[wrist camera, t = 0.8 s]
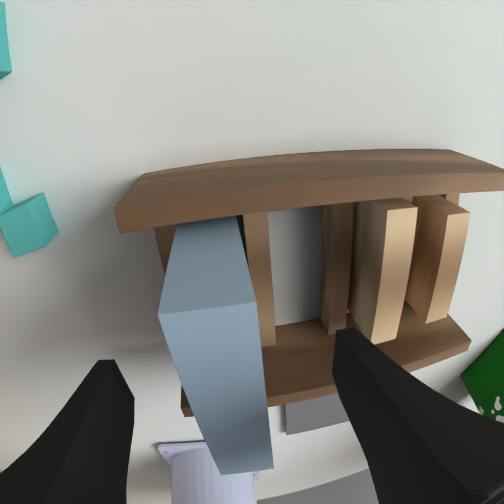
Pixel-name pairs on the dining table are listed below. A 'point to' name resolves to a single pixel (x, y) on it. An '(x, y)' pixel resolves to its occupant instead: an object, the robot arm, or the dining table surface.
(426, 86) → the dining table surface
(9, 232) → the alien figure
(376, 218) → the offcut
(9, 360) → the dining table surface
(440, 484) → the robot arm
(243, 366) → the blue block
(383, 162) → the rack
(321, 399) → the grey mat
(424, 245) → the offcut
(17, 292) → the dining table surface
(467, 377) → the milk carton
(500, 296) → the dining table surface
